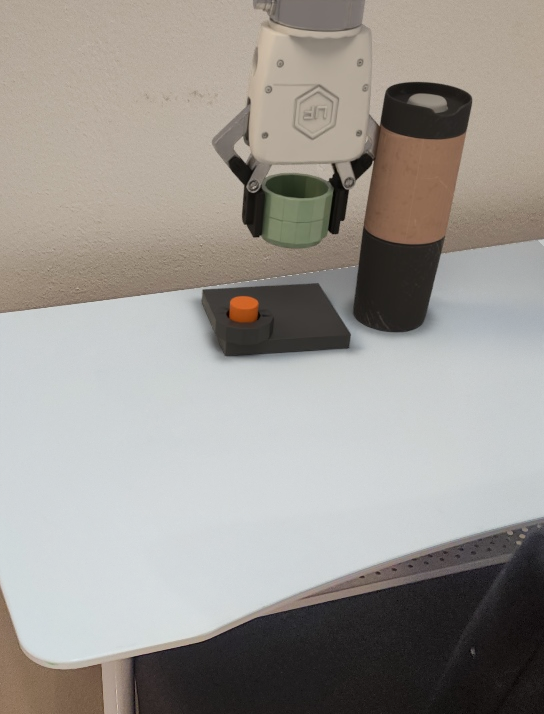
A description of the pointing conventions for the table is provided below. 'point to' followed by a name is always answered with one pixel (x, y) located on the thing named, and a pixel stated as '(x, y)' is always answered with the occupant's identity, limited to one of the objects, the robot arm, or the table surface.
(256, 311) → the button
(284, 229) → the bowl
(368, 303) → the travel mug
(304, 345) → the scale
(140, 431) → the table surface
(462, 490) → the table surface
